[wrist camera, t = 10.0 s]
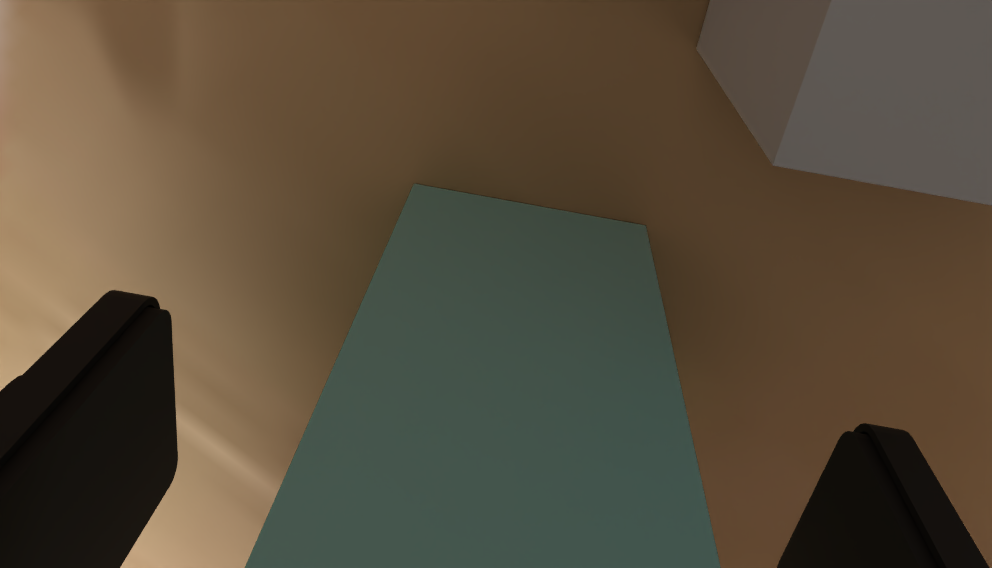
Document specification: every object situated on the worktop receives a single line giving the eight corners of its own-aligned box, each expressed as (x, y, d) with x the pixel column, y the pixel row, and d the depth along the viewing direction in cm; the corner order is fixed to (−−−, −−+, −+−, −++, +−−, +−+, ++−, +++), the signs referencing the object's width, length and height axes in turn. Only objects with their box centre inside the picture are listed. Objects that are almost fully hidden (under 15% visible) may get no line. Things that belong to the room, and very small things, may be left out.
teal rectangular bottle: (593, 408, 15) (658, 1598, 5) (391, 373, 15) (23, 1500, 5) (645, 225, 13) (935, 1547, 3) (413, 183, 13) (-114, 1379, 3)
